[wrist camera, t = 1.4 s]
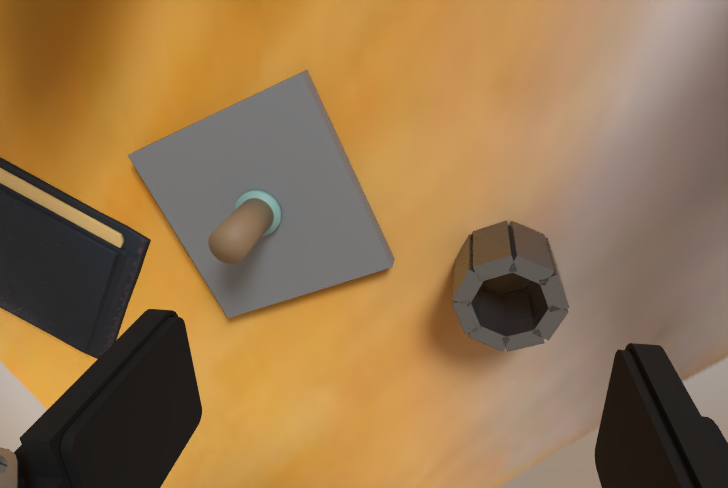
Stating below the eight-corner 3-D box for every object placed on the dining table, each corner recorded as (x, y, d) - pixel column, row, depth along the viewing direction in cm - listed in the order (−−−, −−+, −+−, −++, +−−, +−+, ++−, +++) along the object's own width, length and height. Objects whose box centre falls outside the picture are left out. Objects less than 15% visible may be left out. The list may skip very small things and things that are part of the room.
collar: (537, 210, 34) (547, 244, 30) (565, 292, 36) (578, 335, 32) (444, 240, 36) (440, 276, 32) (475, 315, 38) (475, 359, 34)
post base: (307, 69, 33) (270, 89, 27) (394, 259, 38) (379, 310, 32) (137, 150, 38) (74, 181, 32) (234, 309, 42) (195, 363, 36)
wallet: (-112, 260, 45) (-99, 107, 38) (-92, 250, 47) (-75, 102, 40) (96, 376, 47) (147, 250, 40) (109, 362, 49) (160, 239, 41)
